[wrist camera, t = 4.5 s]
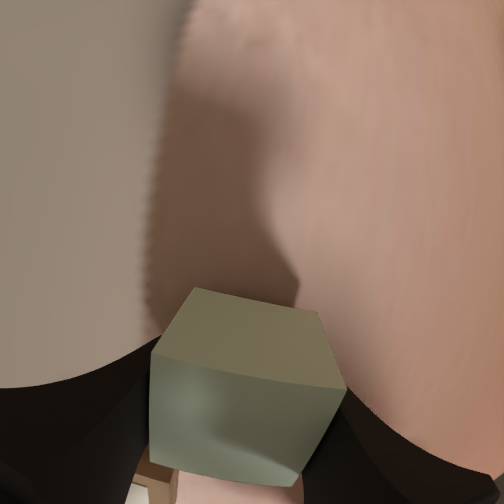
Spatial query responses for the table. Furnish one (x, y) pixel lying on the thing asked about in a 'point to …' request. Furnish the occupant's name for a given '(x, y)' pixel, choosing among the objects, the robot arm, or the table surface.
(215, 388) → the cube
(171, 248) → the table surface
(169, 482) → the base block
